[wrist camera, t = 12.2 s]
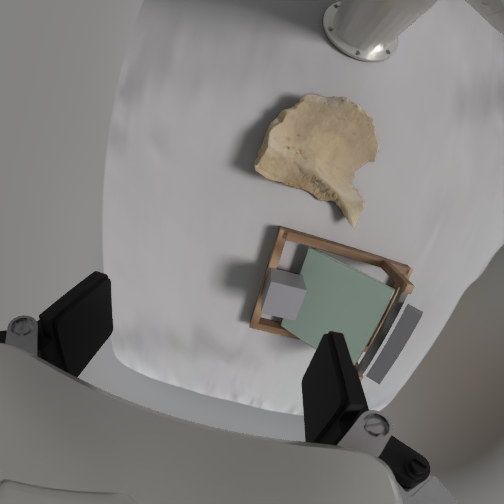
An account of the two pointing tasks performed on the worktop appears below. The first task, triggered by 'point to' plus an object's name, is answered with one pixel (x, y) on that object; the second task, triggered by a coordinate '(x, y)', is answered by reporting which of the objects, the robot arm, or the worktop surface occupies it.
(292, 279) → the block
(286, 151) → the rock
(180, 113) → the worktop surface
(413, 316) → the trapdoor
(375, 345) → the frame
